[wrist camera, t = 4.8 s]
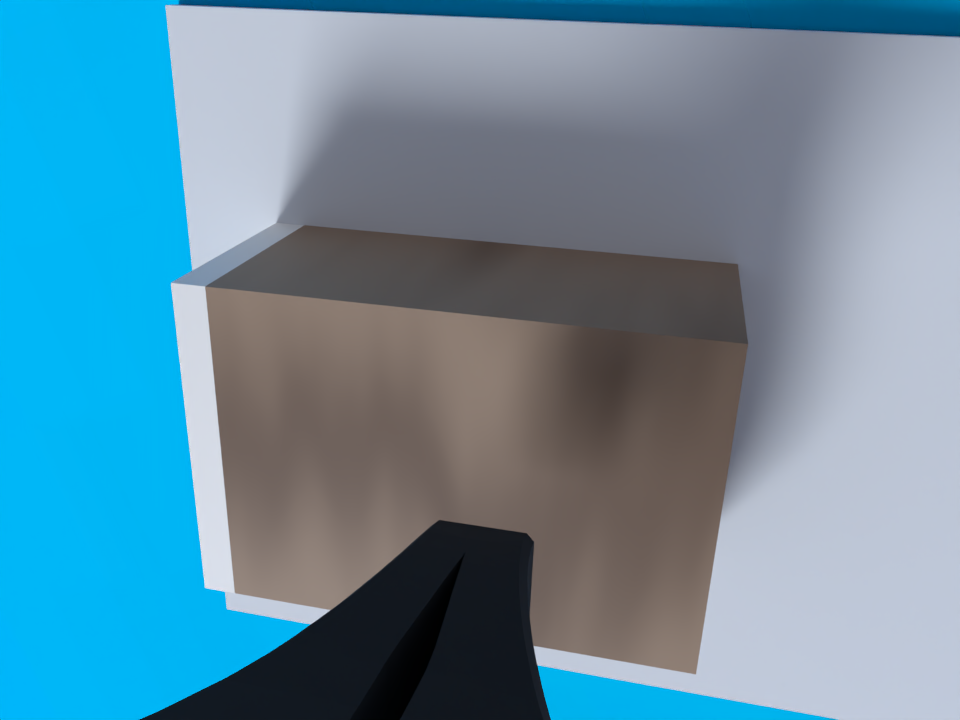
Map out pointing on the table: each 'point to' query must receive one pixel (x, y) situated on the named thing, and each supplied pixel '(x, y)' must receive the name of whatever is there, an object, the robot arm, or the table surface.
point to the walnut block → (466, 421)
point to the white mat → (670, 234)
